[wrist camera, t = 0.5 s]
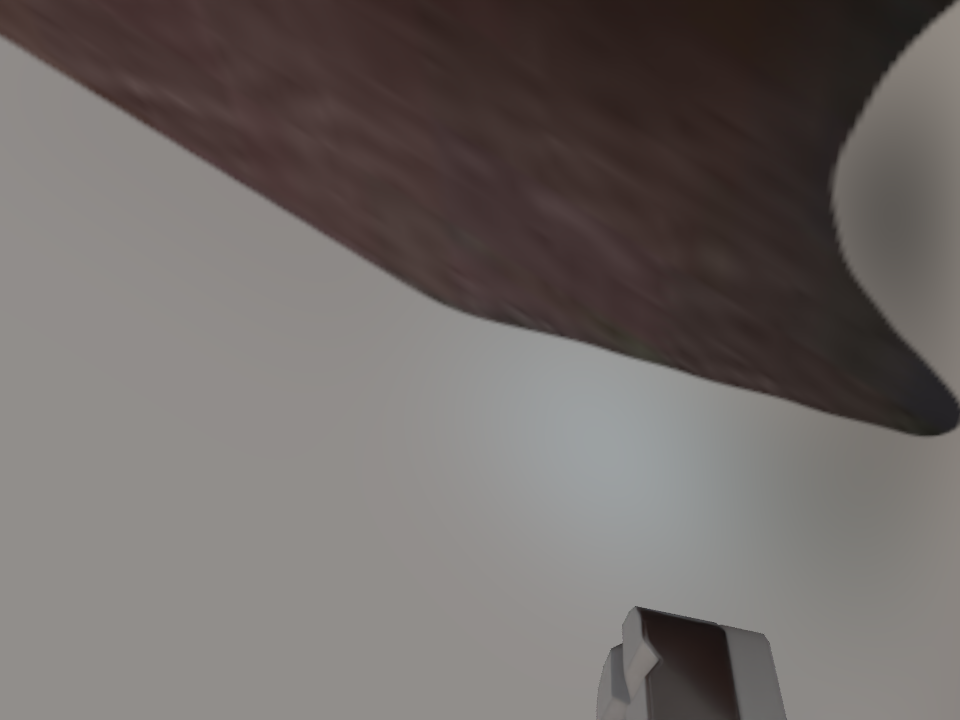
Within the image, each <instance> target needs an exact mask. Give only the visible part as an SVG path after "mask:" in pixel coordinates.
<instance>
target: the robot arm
mask: <svg viewBox="0 0 960 720" xmlns="http://www.w3.org/2000/svg"><path fill="white" fill-rule="evenodd" d="M622 635H623V643H622V644H620V645H618V646H616V647H614V648H612V649H611V650H610V652H609V655H608V657H607V659H606V662H605V664H604V666H603V671H602V675H601V680H600V684H599V688H598V698H597V720H787V718H786V714H785V710H784V705H783V701H782V696H781V692H780V687H779V683H778V678H777V674H776V670H775V665H774V660H773V656H772V652H771V647H770V643H769V641H768V640H767V638H766V637H765V635H764V634H761V633H757V632H752V631H748V630H742V629H738V628H734V627H729V626H724V625H718V624H717V623H714V622H710V621H705V620H700V619H695V618H690V617H685V616H680V615H676V614H671V613H666V612H661V611H656V610H651V609H647V608H642V607H637V606H635V607H634V608H633V609H631V610H630V611H629V613H628V615H627V617H626V619H625V621H624V623H623V625H622Z"/></svg>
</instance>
